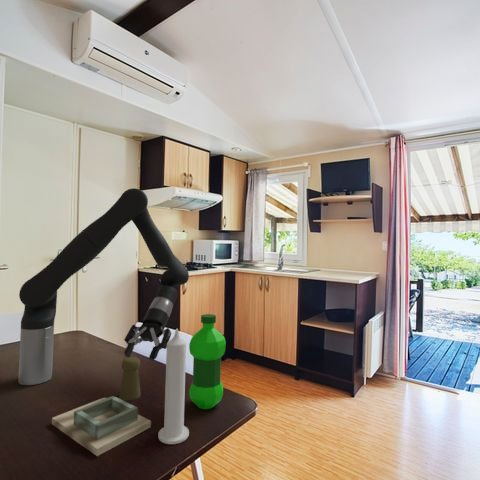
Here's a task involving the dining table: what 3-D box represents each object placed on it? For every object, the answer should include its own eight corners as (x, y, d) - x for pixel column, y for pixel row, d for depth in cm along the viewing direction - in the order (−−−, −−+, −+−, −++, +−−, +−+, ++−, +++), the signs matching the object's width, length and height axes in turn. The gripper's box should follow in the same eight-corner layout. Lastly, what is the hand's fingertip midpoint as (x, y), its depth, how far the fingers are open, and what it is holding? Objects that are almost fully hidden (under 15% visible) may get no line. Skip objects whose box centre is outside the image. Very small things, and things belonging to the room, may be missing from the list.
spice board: (51, 424, 79) (52, 405, 79) (104, 402, 91) (104, 386, 91) (97, 456, 68) (97, 434, 68) (150, 427, 79) (151, 408, 79)
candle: (160, 427, 79) (164, 324, 80) (189, 426, 80) (192, 325, 80) (155, 445, 72) (159, 332, 73) (187, 444, 73) (191, 332, 73)
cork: (133, 401, 92) (135, 362, 92) (114, 399, 93) (116, 360, 93) (144, 392, 98) (145, 356, 98) (126, 390, 99) (127, 354, 99)
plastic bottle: (217, 416, 85) (219, 321, 85) (180, 409, 88) (183, 317, 88) (229, 399, 94) (231, 314, 95) (196, 394, 97) (198, 311, 98)
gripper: (136, 305, 110) (113, 349, 99) (174, 308, 106) (155, 354, 95) (144, 318, 115) (123, 361, 104) (180, 321, 111) (163, 366, 100)
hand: (138, 357), depth 99 cm, fingers open, 8 cm apart
